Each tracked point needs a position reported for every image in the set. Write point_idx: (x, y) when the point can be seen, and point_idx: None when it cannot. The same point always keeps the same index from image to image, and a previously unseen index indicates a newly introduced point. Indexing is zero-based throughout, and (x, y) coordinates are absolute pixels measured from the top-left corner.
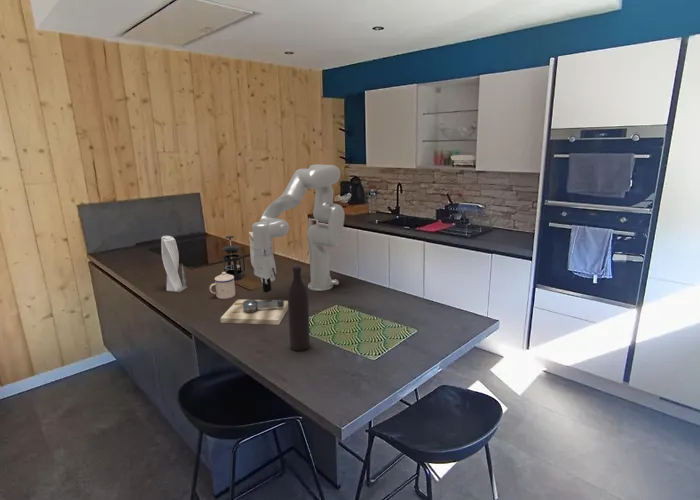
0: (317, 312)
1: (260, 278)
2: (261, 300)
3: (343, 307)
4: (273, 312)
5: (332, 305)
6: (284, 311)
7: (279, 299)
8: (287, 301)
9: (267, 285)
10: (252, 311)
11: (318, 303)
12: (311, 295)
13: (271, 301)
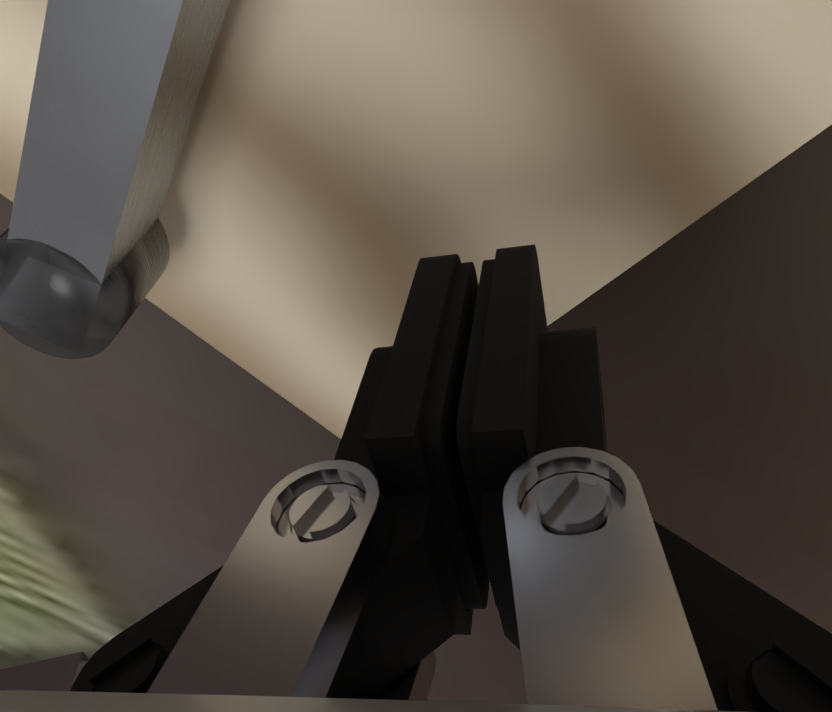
0: (4, 473)
1: (818, 631)
2: (763, 145)
3: (40, 639)
4: (1, 12)
5: (123, 622)
6: None
7: (99, 315)
8: None
9: (342, 456)
10: None
11: None
12: (481, 659)
13: (45, 130)
